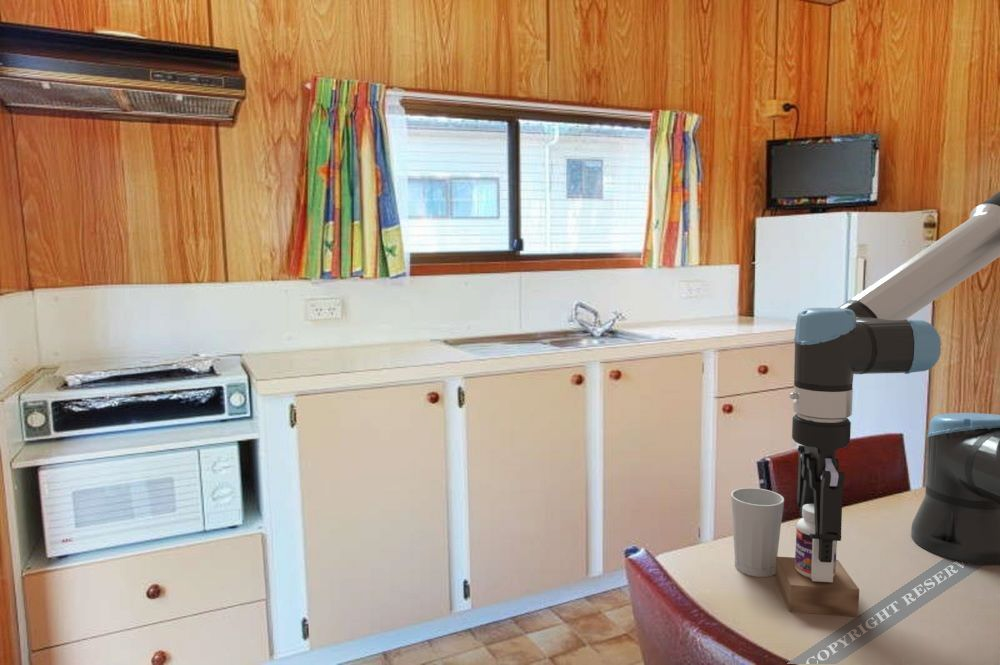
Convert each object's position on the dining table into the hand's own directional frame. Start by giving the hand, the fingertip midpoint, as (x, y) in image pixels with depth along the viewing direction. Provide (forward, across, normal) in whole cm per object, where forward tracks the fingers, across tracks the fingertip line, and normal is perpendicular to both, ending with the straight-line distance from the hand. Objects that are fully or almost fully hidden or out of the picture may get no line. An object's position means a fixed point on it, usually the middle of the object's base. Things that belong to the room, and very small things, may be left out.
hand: (815, 570), depth 96 cm
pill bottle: (+1, 0, 0) cm, 1 cm away
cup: (+5, -9, -7) cm, 12 cm away
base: (+4, 0, 0) cm, 4 cm away
